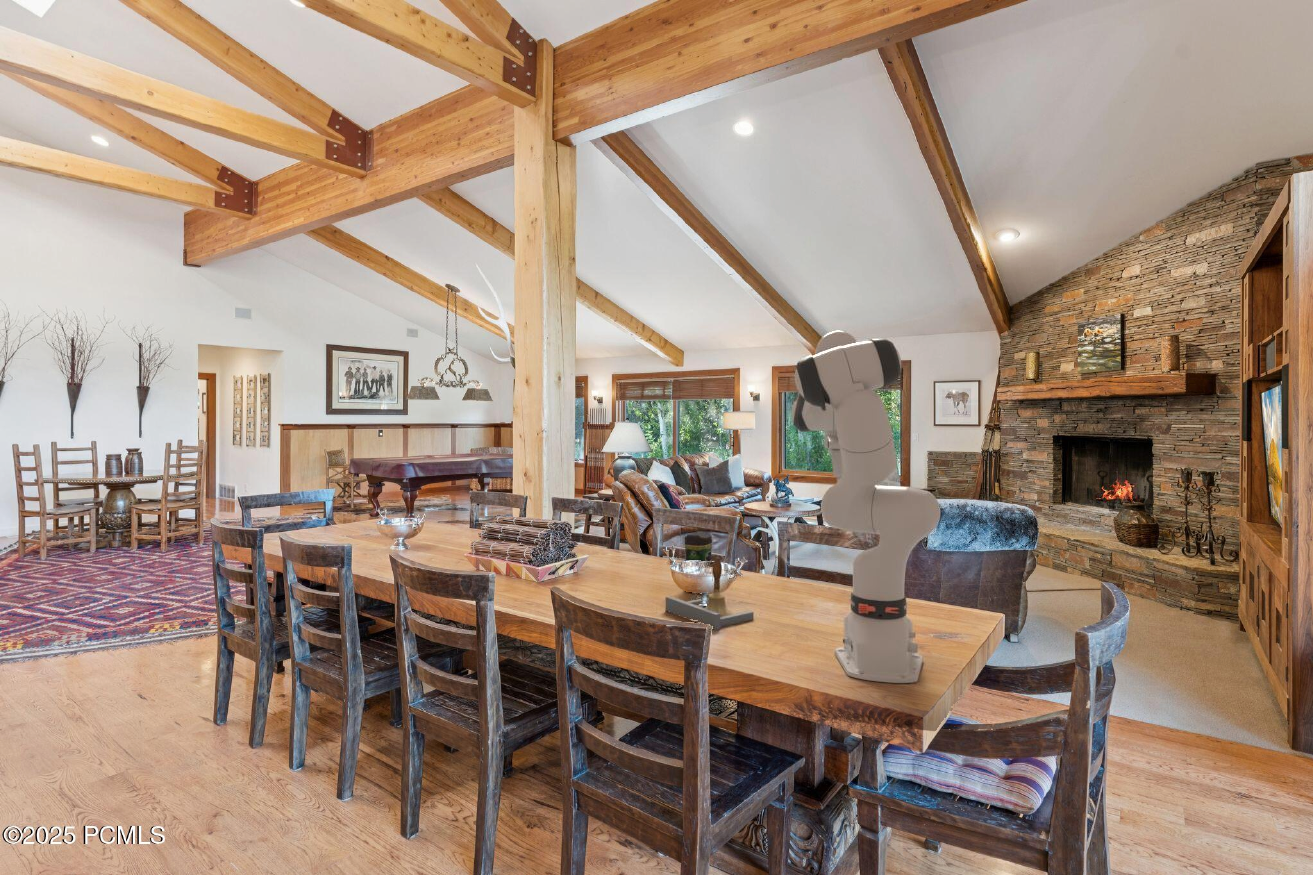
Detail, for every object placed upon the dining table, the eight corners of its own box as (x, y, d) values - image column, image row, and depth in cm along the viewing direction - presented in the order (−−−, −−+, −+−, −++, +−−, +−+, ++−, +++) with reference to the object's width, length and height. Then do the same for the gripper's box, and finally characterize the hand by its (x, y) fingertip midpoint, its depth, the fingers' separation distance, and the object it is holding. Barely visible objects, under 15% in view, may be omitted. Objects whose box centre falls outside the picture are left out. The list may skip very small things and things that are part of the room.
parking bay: (705, 603, 197) (705, 589, 197) (757, 620, 179) (757, 605, 179) (665, 610, 188) (665, 596, 188) (715, 630, 170) (715, 614, 170)
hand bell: (722, 609, 190) (722, 553, 190) (736, 616, 183) (736, 559, 182) (696, 612, 187) (696, 556, 187) (710, 620, 179) (710, 561, 179)
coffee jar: (693, 584, 220) (693, 529, 220) (715, 587, 216) (715, 530, 216) (680, 591, 211) (680, 533, 211) (703, 594, 208) (703, 534, 207)
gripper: (829, 441, 199) (829, 487, 199) (828, 442, 179) (828, 493, 179) (851, 441, 197) (851, 487, 197) (853, 443, 177) (852, 494, 178)
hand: (840, 490), depth 188 cm, fingers closed
